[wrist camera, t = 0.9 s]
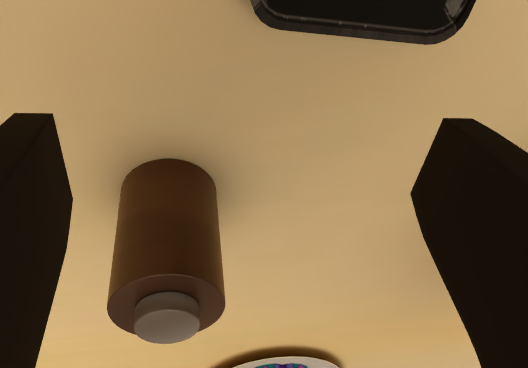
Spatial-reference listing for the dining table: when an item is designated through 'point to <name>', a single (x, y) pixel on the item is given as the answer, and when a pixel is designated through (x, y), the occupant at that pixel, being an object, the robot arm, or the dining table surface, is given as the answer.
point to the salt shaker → (167, 253)
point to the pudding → (288, 363)
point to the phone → (368, 18)
